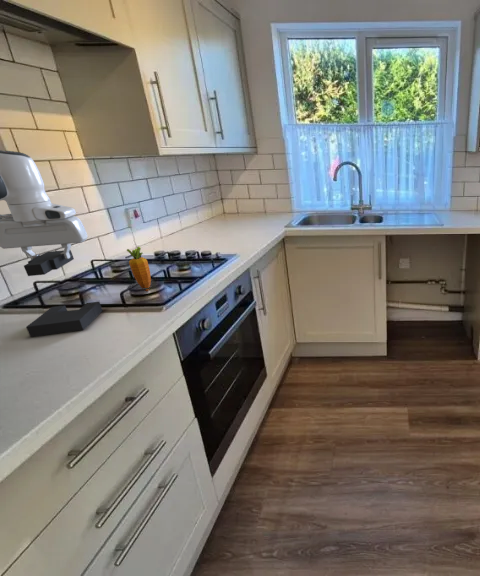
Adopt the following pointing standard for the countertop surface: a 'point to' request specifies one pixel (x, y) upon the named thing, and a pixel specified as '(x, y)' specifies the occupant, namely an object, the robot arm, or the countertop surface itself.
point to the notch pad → (64, 320)
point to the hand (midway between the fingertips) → (52, 259)
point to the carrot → (140, 268)
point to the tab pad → (46, 263)
